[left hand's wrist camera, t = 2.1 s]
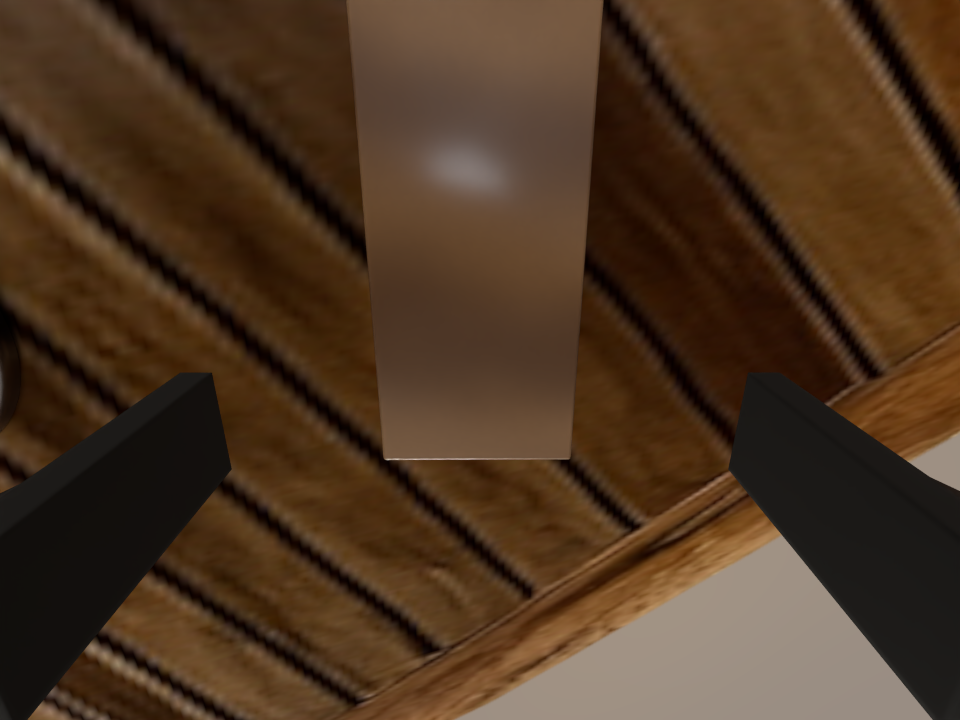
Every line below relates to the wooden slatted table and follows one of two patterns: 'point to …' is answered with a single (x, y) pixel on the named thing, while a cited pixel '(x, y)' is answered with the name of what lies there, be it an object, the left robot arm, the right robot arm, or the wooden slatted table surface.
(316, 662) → the wooden slatted table surface
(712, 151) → the wooden slatted table surface
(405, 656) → the wooden slatted table surface
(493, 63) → the box
